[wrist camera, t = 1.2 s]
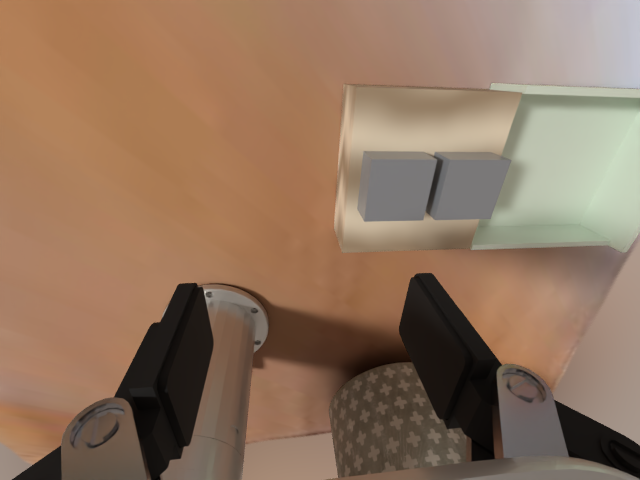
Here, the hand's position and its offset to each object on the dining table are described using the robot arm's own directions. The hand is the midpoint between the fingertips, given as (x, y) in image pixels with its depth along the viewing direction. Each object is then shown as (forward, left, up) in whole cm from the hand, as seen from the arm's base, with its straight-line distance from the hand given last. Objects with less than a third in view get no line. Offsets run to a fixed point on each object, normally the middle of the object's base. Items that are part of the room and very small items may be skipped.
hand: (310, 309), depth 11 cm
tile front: (0, -8, -15) cm, 17 cm away
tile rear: (0, -14, -15) cm, 20 cm away
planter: (-36, -15, -20) cm, 44 cm away
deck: (0, -11, -20) cm, 23 cm away
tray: (0, -26, -20) cm, 33 cm away
